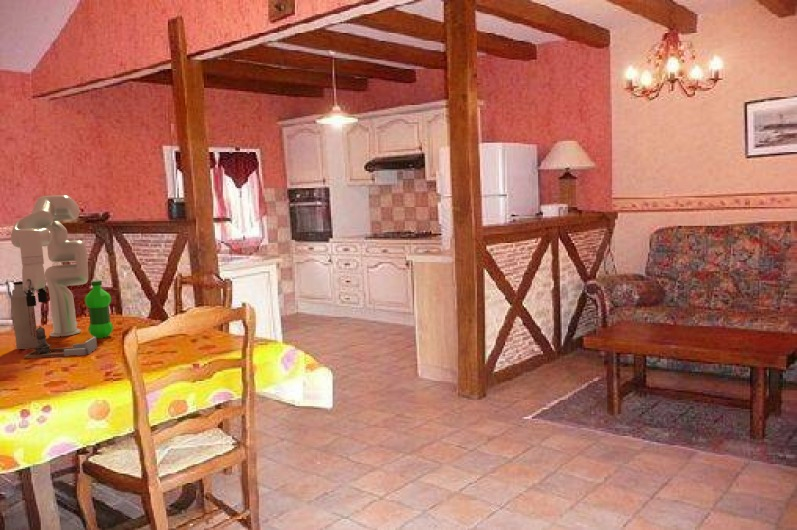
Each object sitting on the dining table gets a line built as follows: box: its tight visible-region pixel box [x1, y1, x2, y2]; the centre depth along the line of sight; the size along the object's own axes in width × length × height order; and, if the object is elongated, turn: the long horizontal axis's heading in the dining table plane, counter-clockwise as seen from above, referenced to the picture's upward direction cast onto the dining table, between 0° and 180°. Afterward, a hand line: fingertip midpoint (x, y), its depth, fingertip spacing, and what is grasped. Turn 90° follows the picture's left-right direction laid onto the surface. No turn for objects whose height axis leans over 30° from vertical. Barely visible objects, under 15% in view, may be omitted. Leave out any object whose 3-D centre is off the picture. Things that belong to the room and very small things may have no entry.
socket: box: [63, 336, 98, 357], centre depth 261 cm, size 10×9×5 cm
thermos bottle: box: [10, 280, 38, 350], centre depth 273 cm, size 8×8×28 cm
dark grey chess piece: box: [33, 325, 52, 354], centre depth 260 cm, size 6×6×12 cm
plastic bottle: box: [84, 279, 114, 339], centre depth 288 cm, size 10×10×25 cm
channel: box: [23, 346, 73, 360], centre depth 261 cm, size 10×15×1 cm, turn 96°
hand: (37, 304), depth 258 cm, fingers open, 9 cm apart
